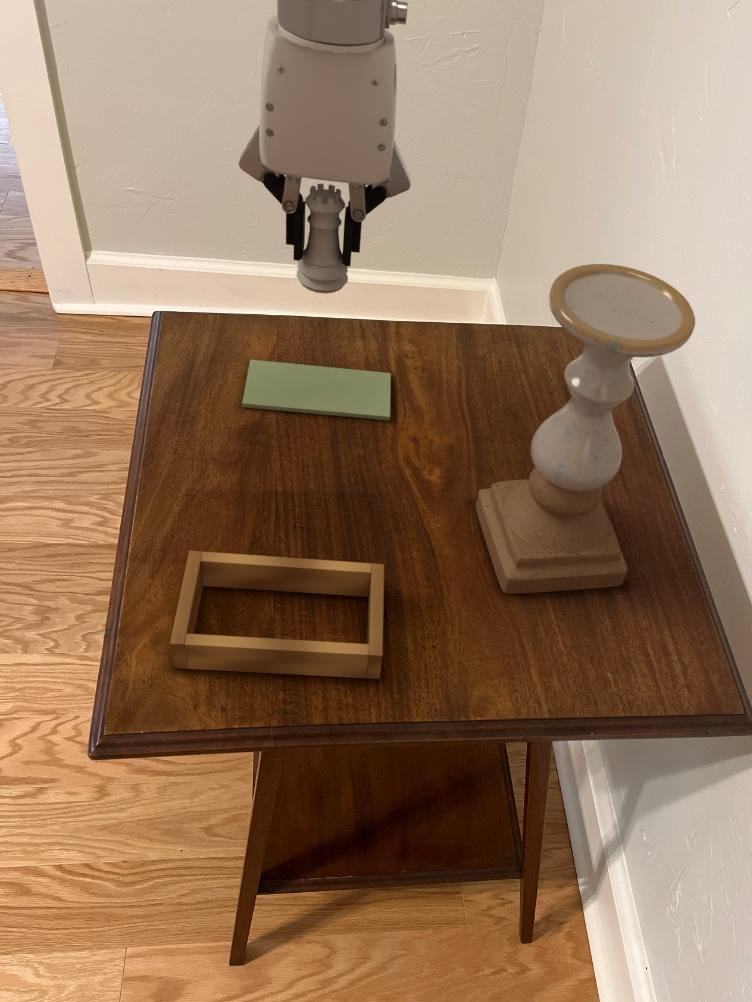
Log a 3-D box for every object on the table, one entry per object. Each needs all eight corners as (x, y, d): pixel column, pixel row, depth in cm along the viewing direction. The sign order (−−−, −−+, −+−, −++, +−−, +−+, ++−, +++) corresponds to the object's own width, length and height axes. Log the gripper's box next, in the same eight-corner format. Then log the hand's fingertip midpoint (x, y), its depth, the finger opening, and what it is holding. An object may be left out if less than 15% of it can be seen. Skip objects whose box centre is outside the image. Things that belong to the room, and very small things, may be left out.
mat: (242, 407, 86) (242, 403, 86) (250, 363, 90) (250, 359, 90) (389, 420, 88) (390, 416, 87) (390, 376, 92) (391, 372, 92)
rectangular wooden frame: (173, 668, 66) (169, 643, 64) (191, 576, 72) (189, 550, 70) (379, 679, 68) (382, 655, 66) (381, 588, 74) (384, 563, 72)
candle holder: (624, 586, 78) (727, 349, 60) (502, 595, 75) (571, 350, 57) (586, 497, 85) (668, 260, 67) (473, 502, 82) (526, 257, 64)
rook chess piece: (292, 267, 80) (294, 177, 74) (343, 267, 81) (348, 178, 75) (299, 295, 77) (301, 204, 71) (351, 295, 78) (357, 205, 72)
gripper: (447, 9, 67) (419, 244, 81) (218, -25, 65) (229, 221, 79) (451, 47, 62) (420, 290, 76) (202, 11, 60) (217, 267, 74)
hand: (323, 253), depth 77 cm, fingers closed on rook chess piece, 3 cm apart
